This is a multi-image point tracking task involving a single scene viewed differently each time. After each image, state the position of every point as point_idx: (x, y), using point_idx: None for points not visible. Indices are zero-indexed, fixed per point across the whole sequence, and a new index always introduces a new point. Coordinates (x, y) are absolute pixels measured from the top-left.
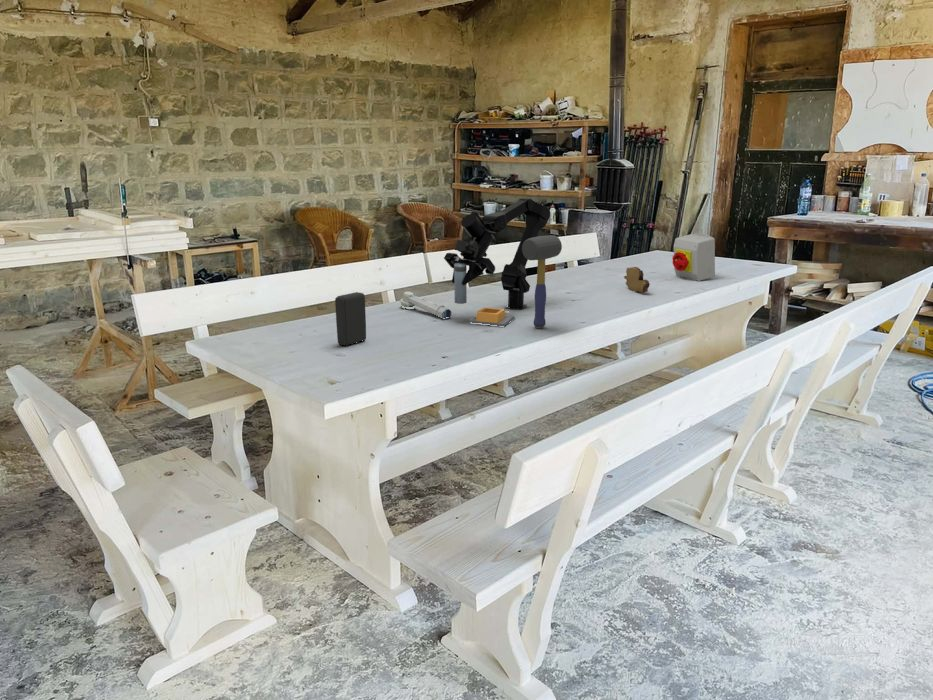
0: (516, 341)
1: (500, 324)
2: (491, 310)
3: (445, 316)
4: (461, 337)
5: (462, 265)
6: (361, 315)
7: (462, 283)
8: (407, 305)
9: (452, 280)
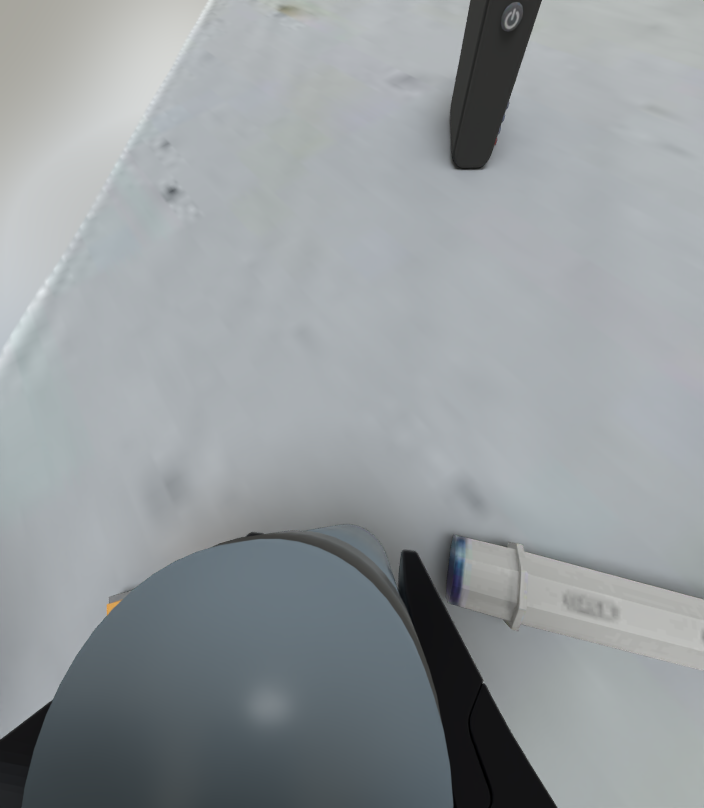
0: (16, 429)
1: (129, 591)
2: None
3: (452, 552)
4: (221, 356)
5: (106, 623)
6: (473, 45)
7: (252, 532)
8: None
9: (413, 560)
